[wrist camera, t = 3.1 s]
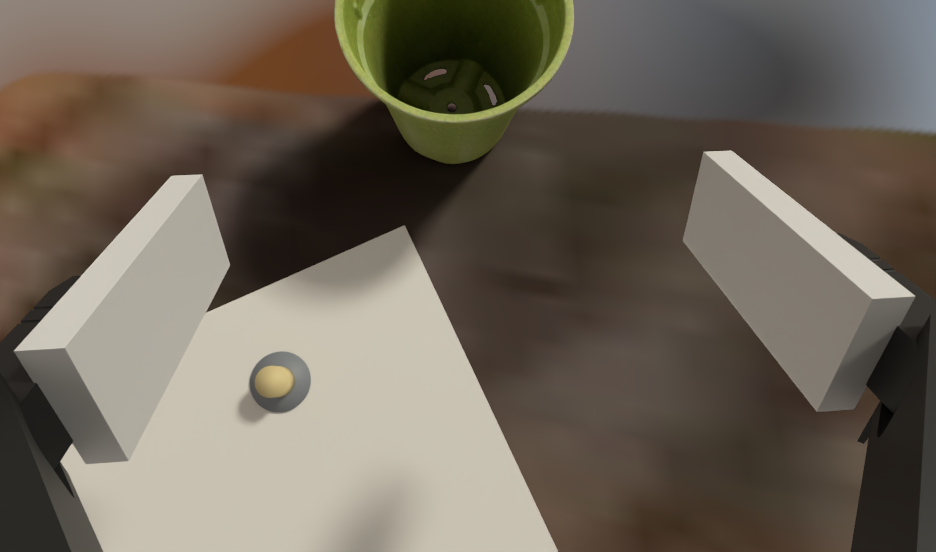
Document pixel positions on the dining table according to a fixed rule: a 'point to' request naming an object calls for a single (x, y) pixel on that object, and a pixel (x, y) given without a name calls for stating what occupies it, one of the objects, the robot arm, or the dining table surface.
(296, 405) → the pin board
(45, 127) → the dining table surface
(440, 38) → the plant pot
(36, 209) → the dining table surface
